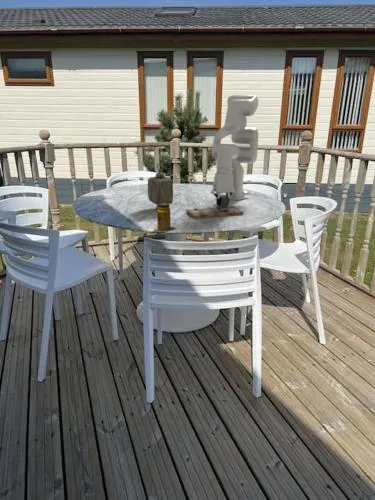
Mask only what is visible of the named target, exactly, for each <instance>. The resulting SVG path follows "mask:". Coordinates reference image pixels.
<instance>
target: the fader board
mask: <svg viewBox="0 0 375 500" xmlns="http://www.w3.org/2000/svg"><path fill="white" fill-rule="evenodd" d="M228 208H229V210H225V211H220V210H218V209H217V208H216V207H207V208H198V207H194V208H193V209H186V210H185V212H187V213H188V214H187V215H189V217H191V218H192V219H193V218H195V219H206V218H216V217H217V218H219V217H231V216H240V215H244V211H243V210H240V209H239V208H237V207H235V206H234V205H233V206H230V205H228Z"/></svg>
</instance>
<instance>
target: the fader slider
mask: <svg viewBox="0 0 375 500" xmlns="http://www.w3.org/2000/svg"><path fill="white" fill-rule="evenodd" d="M220 199H221V200H220V206H218V205H217V204H216V205H215V208H217V209H218V210H220V211H225V210H229V208H228V206H229V203H228V196H226V194H220Z"/></svg>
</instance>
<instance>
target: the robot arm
mask: <svg viewBox="0 0 375 500" xmlns="http://www.w3.org/2000/svg"><path fill="white" fill-rule="evenodd" d="M258 106H259V98H258V96H257V95H256V94H233V95H229V96H228V98H227V109H226V114H225V120H224V125H223V126H222V127H221V128H220V129H218V130H217V132H216V134H215V135H214V137H213V142H212V146H211V147H212V148H211V156H212V157H213V158H215V159H217V160H216V161H217V162H216V172H215V173H214V176H213V184H212V189H211V191H210V194H212V195H213V196H214V197H215V198H216V202H215V203H216V206H217V205H218V206H220V200H221V199H220V195H222V194H223V193H224V194H225V195H226V196H228V204H230V201H242V200H244V199H245V198H246V197H245V196H248V195H250V191H246V190H244V178H245V177H244V175H245V169H244V167H243V166H242V164H255V162H256V161H257V158H258V149H259V147H258V146H259V130H258V128H256V127H249V126H248V127H247V123H248V122H247V121H248V119H247V117H252V116H254V114H255V112H256V111H257V109H258ZM230 135H231V142H232V143H233V144H228V143H220V142H221V141H222V139H224V138H225V137H228V136H230ZM241 145H242V146H241ZM243 145H249V146H243Z"/></svg>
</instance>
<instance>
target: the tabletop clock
mask: <svg viewBox="0 0 375 500" xmlns="http://www.w3.org/2000/svg"><path fill="white" fill-rule="evenodd" d="M159 166H160V167H161V168H159ZM156 169H157V171H158V172H156V174H155V176H151V177H150V178H149V179H147V197H148V200H149V202H150V203H152V204H155V205H156V207H155V211H157V210H158V204H159V203H168V204H169V205H171V204H173V203H174V201H173V200H174V183H173V180H172V178H171V177H169V176H166V175H165V173H164V172H163V171H164V167H163V165H162V164H161V163H158V164H157V166H156Z"/></svg>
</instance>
